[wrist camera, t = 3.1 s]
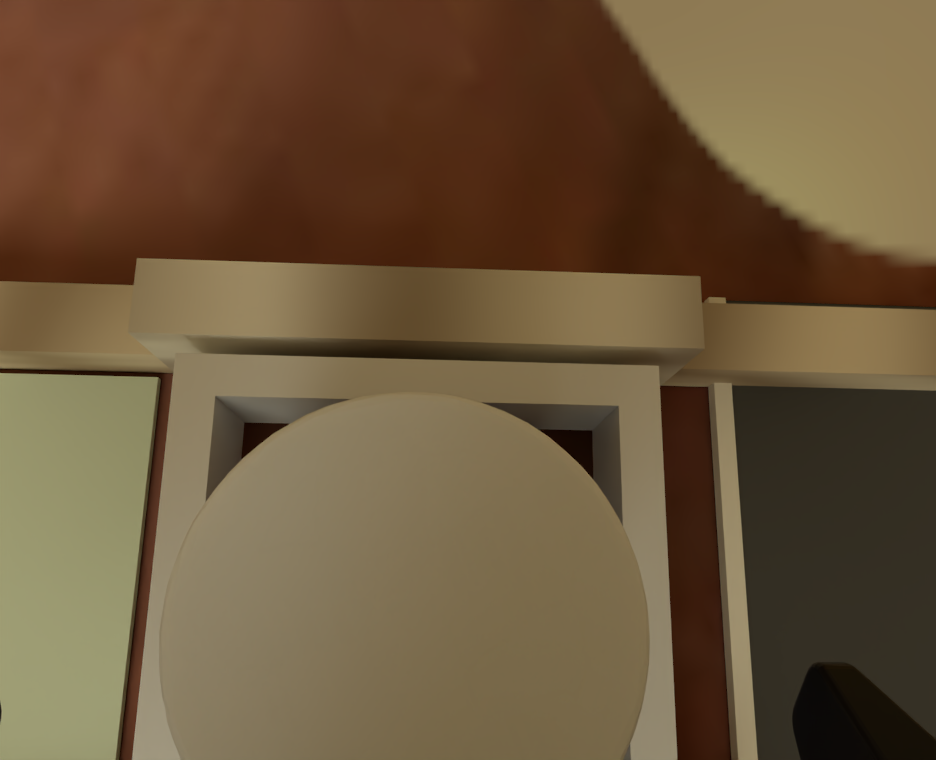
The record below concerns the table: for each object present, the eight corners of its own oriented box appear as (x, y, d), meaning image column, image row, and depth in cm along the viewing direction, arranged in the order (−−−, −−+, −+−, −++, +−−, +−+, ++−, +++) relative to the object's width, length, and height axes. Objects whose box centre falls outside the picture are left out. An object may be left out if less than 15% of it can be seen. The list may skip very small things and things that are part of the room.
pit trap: (1021, 312, 20) (1032, 307, 19) (1130, 980, 16) (1148, 990, 16) (703, 302, 19) (708, 297, 19) (745, 984, 16) (753, 994, 15)
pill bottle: (496, 795, 16) (600, 1094, 7) (234, 693, 17) (-30, 841, 7) (584, 524, 18) (773, 452, 8) (341, 434, 18) (246, 258, 8)
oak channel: (1008, 334, 19) (1111, 289, 16) (1106, 948, 16) (1254, 1027, 13) (-205, 298, 18) (-325, 243, 15) (-359, 961, 15) (-549, 1052, 12)
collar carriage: (627, 395, 18) (658, 365, 15) (643, 853, 16) (684, 902, 13) (210, 385, 17) (175, 353, 15) (165, 855, 15) (116, 905, 13)
